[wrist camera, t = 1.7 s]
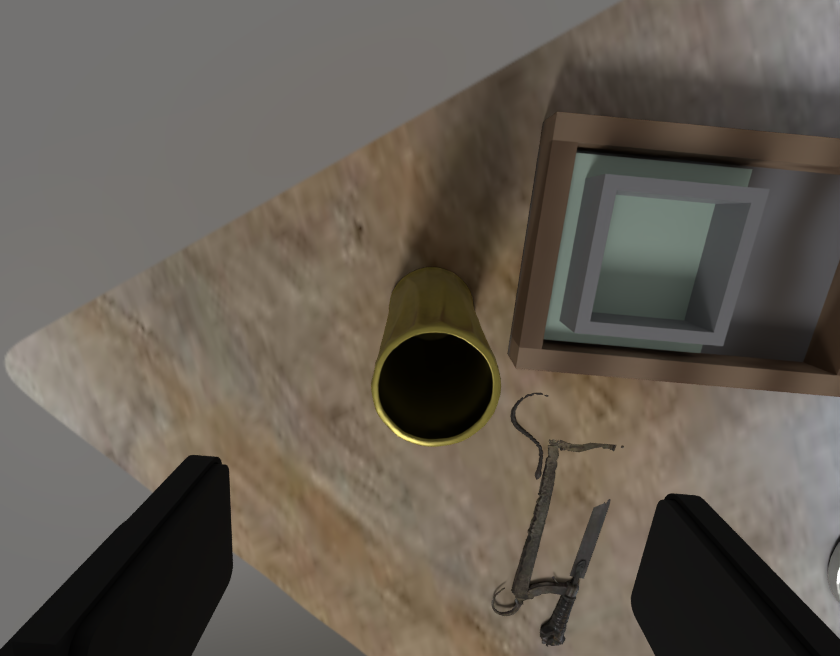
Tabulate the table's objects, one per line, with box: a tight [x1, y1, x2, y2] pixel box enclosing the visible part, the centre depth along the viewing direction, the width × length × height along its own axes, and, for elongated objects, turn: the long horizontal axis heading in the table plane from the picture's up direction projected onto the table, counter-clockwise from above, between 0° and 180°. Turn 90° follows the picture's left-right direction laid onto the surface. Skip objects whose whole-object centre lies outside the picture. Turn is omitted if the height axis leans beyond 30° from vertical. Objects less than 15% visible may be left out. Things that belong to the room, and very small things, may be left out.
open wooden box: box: [508, 112, 840, 397], centre depth 28 cm, size 23×16×3 cm
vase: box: [371, 267, 501, 447], centre depth 23 cm, size 6×6×14 cm
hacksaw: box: [492, 393, 624, 646], centre depth 35 cm, size 24×10×2 cm, turn 169°
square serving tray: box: [544, 153, 770, 353], centre depth 26 cm, size 11×12×4 cm
